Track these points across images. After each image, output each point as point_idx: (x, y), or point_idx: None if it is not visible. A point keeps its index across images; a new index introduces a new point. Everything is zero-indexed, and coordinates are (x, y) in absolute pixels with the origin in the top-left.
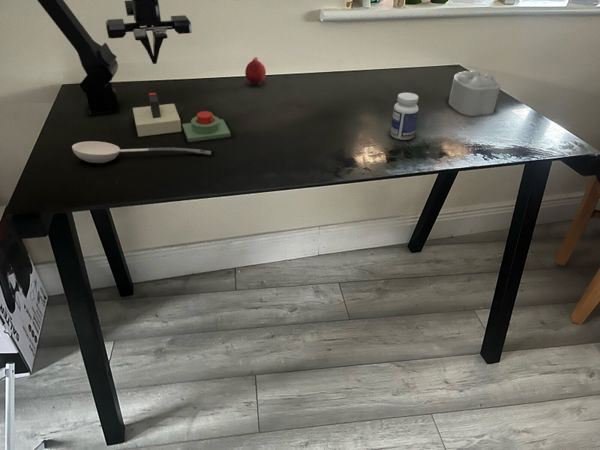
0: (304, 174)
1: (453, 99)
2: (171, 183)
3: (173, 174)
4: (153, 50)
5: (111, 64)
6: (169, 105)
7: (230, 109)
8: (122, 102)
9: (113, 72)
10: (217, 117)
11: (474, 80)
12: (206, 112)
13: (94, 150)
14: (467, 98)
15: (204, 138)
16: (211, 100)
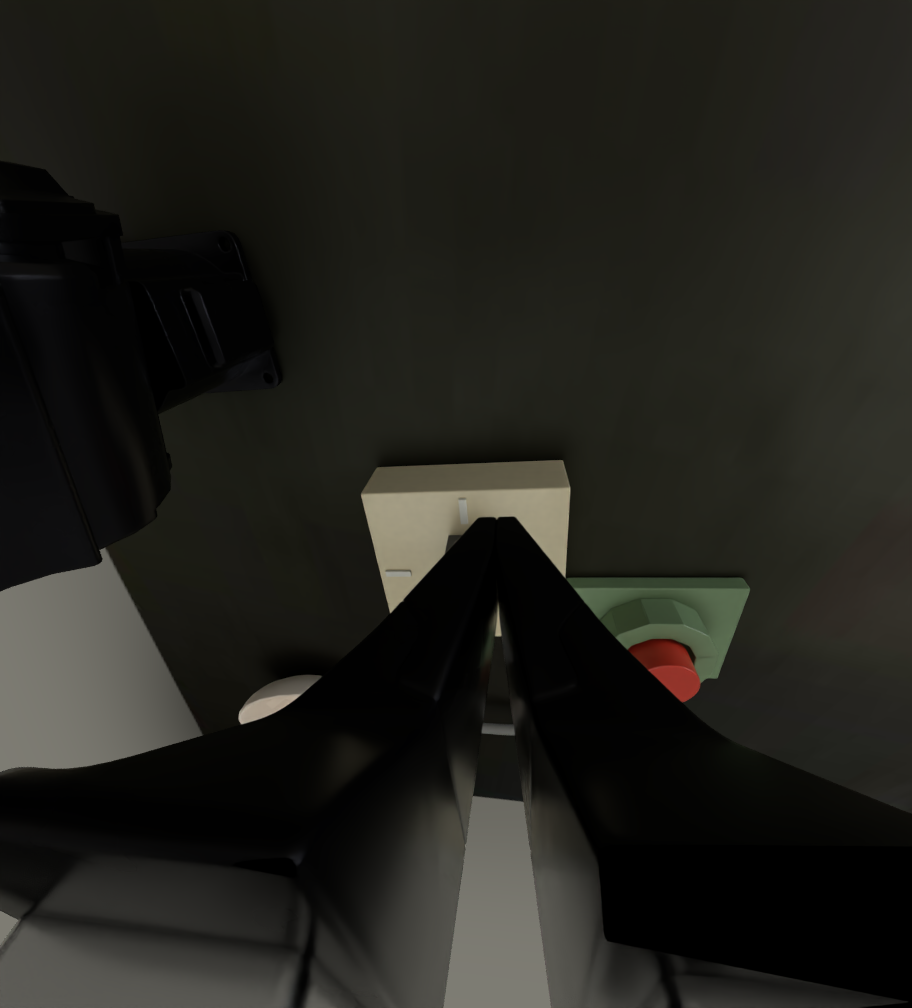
0: None
1: None
2: (488, 774)
3: (496, 755)
4: (506, 622)
5: (74, 466)
6: (542, 507)
7: (864, 458)
8: (271, 213)
9: (147, 466)
10: (716, 654)
11: None
12: (680, 676)
13: (295, 679)
14: None
15: None
16: (840, 297)
